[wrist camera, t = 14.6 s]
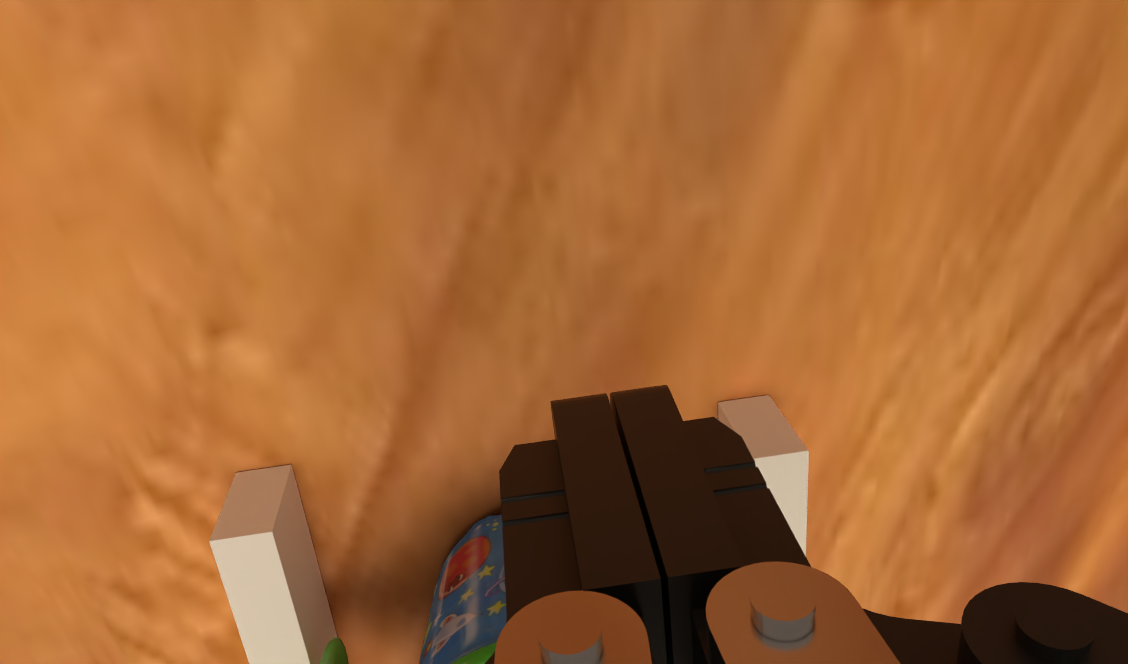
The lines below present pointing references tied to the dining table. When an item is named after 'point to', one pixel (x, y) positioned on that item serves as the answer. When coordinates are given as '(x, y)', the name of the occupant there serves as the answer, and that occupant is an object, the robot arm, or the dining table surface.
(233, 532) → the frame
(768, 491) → the robot arm
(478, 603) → the snack cup
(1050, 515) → the dining table surface
